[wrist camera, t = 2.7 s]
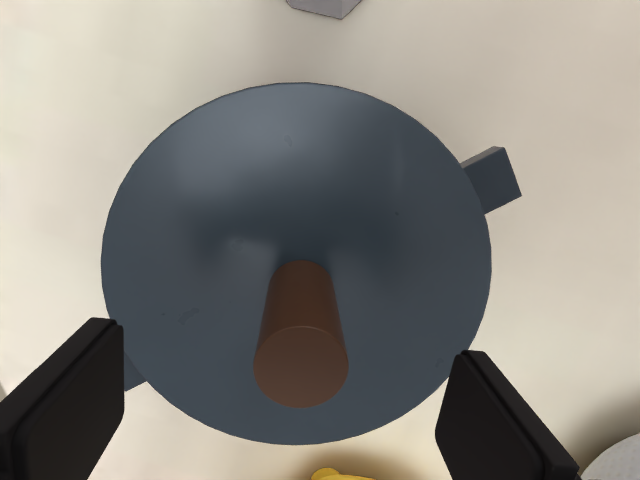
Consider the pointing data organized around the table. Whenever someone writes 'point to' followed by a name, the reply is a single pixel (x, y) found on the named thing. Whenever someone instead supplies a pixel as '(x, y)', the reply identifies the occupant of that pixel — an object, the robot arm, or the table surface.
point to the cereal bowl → (617, 462)
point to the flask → (325, 6)
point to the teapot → (334, 475)
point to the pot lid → (296, 263)
